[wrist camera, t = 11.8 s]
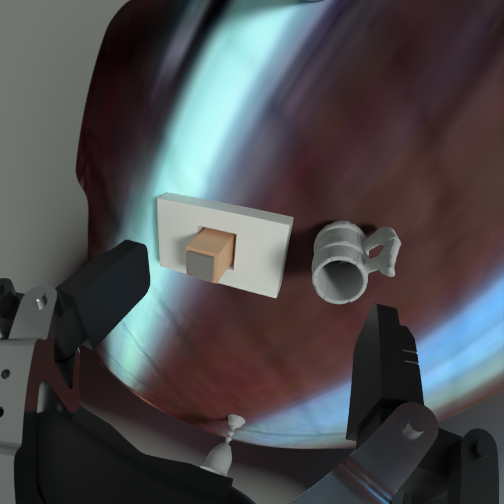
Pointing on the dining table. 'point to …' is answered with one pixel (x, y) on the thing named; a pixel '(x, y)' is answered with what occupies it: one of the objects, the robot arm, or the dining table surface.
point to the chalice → (223, 450)
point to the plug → (210, 254)
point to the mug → (350, 260)
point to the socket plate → (233, 221)
